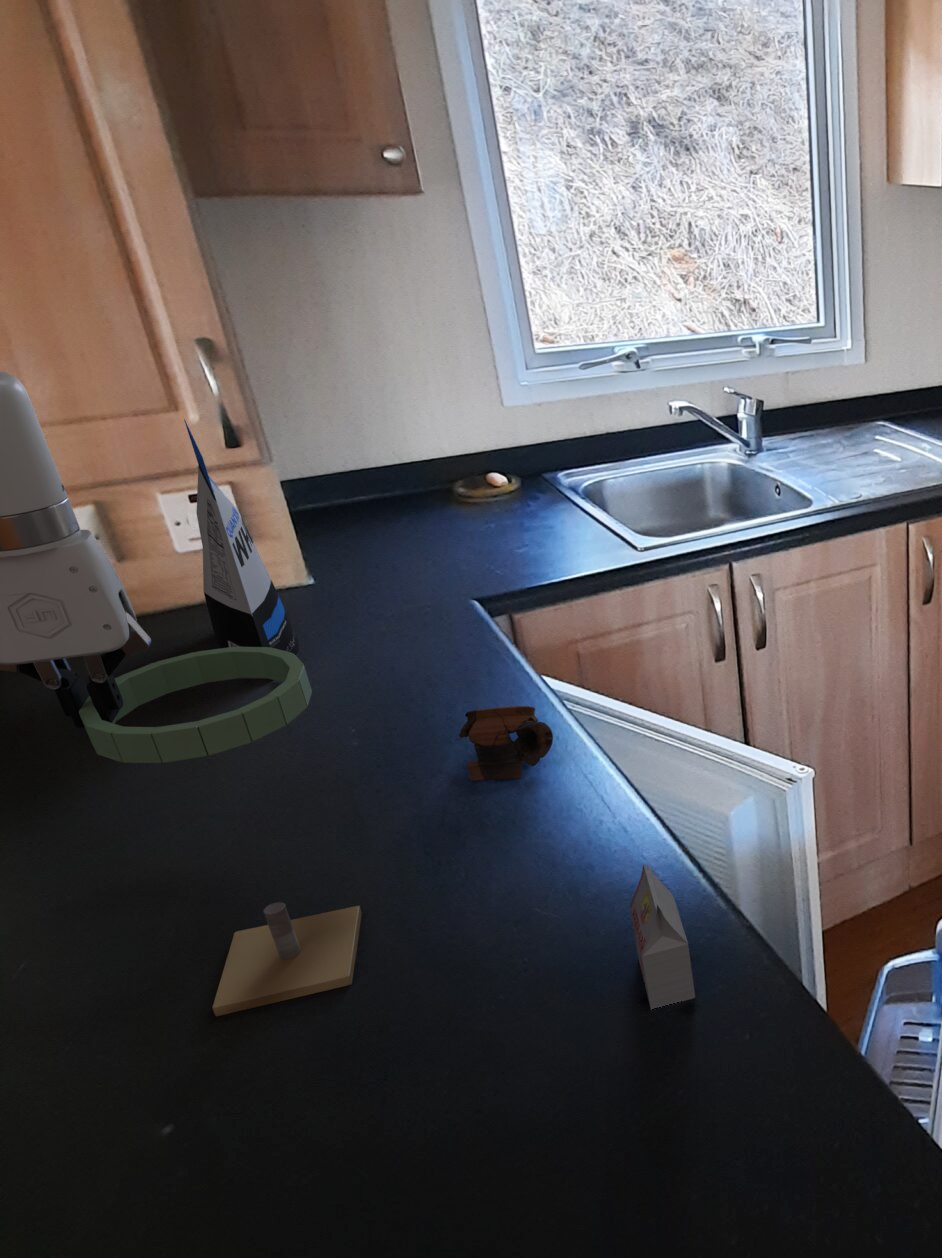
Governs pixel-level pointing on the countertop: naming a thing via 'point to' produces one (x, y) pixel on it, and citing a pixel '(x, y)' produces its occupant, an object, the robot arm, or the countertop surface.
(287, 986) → the stand
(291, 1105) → the countertop surface
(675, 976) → the gable top carton
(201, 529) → the protein powder
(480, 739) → the pottery mug
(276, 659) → the hoop
